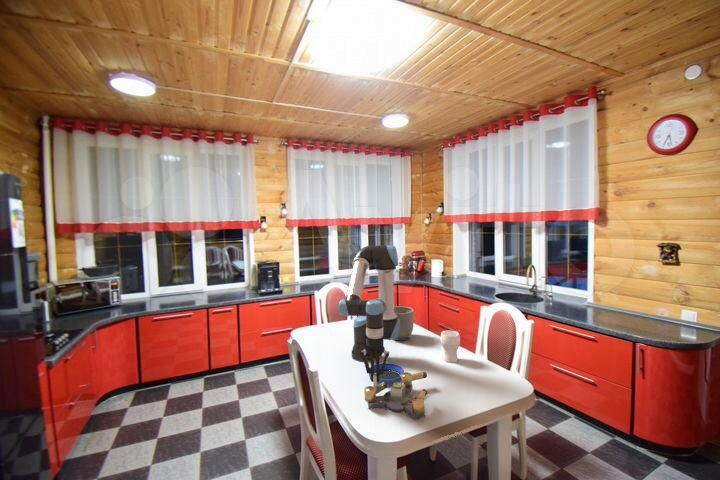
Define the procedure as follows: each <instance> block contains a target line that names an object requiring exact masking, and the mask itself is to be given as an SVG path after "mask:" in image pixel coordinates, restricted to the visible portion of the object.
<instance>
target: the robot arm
mask: <svg viewBox="0 0 720 480" xmlns="http://www.w3.org/2000/svg"><path fill="white" fill-rule="evenodd" d="M351 265H352V270H351V274H350V277H349V282H348V287H347V291H346V295H345V299H344V298H343V299H340V301H338V313H339V315H341V316H345V317H346V316H347V317H355V318H354V319H353V340H354V341H353V346H352V349H351V358H352V359H353V360H355V361H359V362H363V363H364V366H365V372H366V374H368V375H369V374H371V379H370V381H371V383H373V384H372V385H373V387H375V386H377V385H378V384H377V382H379V380H380V374H383V372H384V368H385V364H386V363H387V360H388V358H389V356H390V351H388V350H386V348H385V347H384V340H385V341H386V340H387V341H390V340H392V341H397V340H396V339H397V338H398V332H399V324H400V319H397V315H396V314H395V313H394V306H395V294H394V293H395V292H394V291H395V290H394V289H395V288H394V287H395V286H394V282H395V281H394V272H395V270H396V269H397V267H399V256H398V252H397V248H396V246H395V245H389V244H383V245H381V244H380V245H379V244H378V245H366V246H364V247H362V248H360V249H359V250H358V251H357V252H356V254H355V255H354V257H353V258H352V262H351ZM369 267H375V271H377V274H378V298H374V299H362V295H363V291H364V285H365V279H366V275H367V270H368V269H369ZM382 355H383V361H382V363H383V364H382V368H381V370H380V362H381V361H380V360H381V359H380V358H381V356H382ZM369 361H370V364H369ZM375 361H376V362H375ZM374 365H376V373H374ZM370 367H371V370H370Z"/></svg>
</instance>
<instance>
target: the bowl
mask: <svg viewBox="0 0 720 480" xmlns="http://www.w3.org/2000/svg"><path fill="white" fill-rule="evenodd" d="M382 364H383V362H382V363H380V370H381V368H382ZM369 367H370V370H371V366H369ZM389 370H390V371H389ZM404 372H405V369H404V368H403V366H401V365H398V364H396V363H390V362H386V364H385V368H384V372H383V374H380V380H379V382H377V385H379V384H380V383H382V382H386V383H387V384H388V386H392V385H393V384H394V382H401V374H402V373H404ZM374 373H376V364H374ZM368 376H369V379H370V380H371V374H369V373H368Z"/></svg>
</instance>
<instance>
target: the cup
mask: <svg viewBox="0 0 720 480" xmlns="http://www.w3.org/2000/svg"><path fill="white" fill-rule="evenodd" d="M440 333H441V334H440V337H439V338H440V340H439V341H440V344H441V346H442V348H443V358H442V359H443V361H445V362H447V363H453V364H454V363H458V361H459V359H458V349H459V348H460V344H461V336H460V332H458V331H454V330H443V331H441V332H440Z"/></svg>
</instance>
